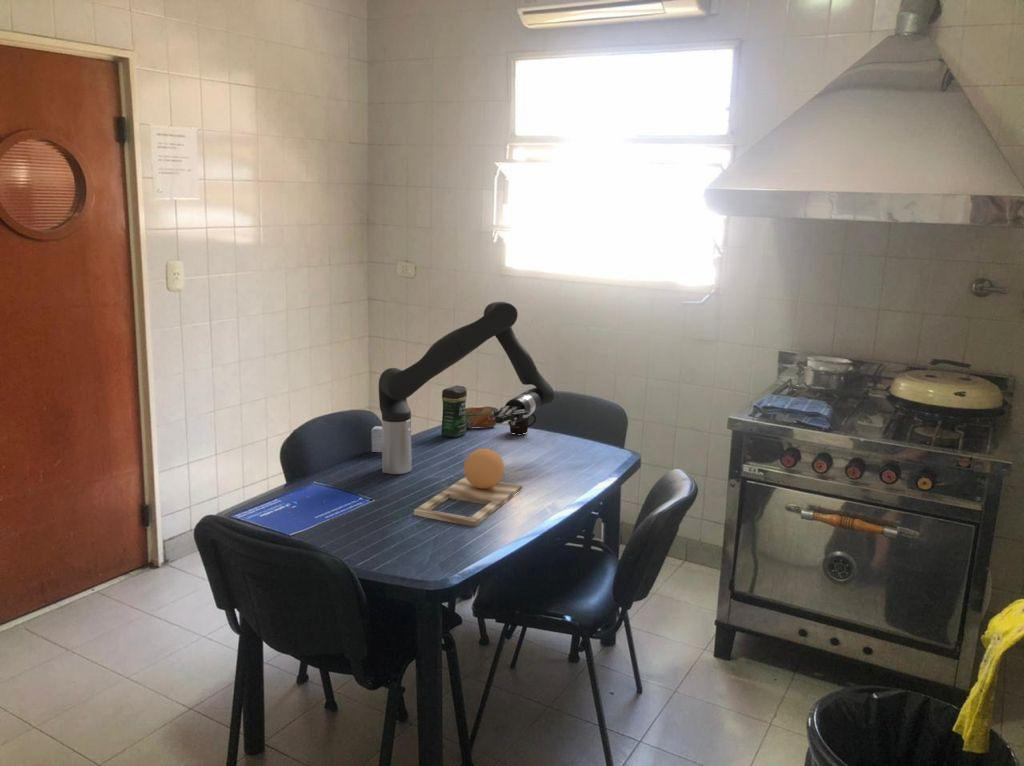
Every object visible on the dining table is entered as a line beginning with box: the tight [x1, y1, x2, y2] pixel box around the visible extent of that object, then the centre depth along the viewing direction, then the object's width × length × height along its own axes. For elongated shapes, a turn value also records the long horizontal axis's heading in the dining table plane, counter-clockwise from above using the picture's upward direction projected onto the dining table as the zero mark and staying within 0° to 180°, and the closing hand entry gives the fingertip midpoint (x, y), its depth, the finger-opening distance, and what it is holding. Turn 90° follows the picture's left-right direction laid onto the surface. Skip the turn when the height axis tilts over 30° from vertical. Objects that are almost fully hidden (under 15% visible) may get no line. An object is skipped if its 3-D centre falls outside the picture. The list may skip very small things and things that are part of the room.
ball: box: [463, 448, 505, 489], centre depth 241 cm, size 12×12×12 cm
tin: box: [466, 405, 497, 429], centre depth 312 cm, size 15×3×8 cm, turn 105°
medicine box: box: [370, 425, 382, 453], centre depth 279 cm, size 8×4×9 cm, turn 84°
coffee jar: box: [441, 385, 468, 438], centre depth 300 cm, size 10×8×19 cm
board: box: [413, 476, 523, 527], centre depth 234 cm, size 32×19×2 cm, turn 156°
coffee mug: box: [508, 412, 537, 434], centre depth 304 cm, size 12×9×10 cm
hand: (498, 420), depth 247 cm, fingers closed
